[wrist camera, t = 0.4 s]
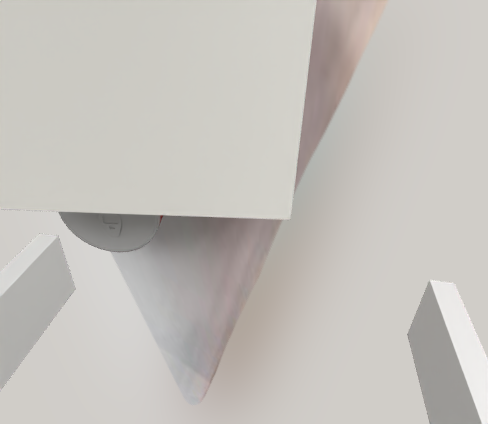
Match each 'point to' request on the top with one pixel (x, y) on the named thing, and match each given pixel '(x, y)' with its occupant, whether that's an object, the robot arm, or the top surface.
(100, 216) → the canned food
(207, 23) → the shelf
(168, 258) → the top surface
